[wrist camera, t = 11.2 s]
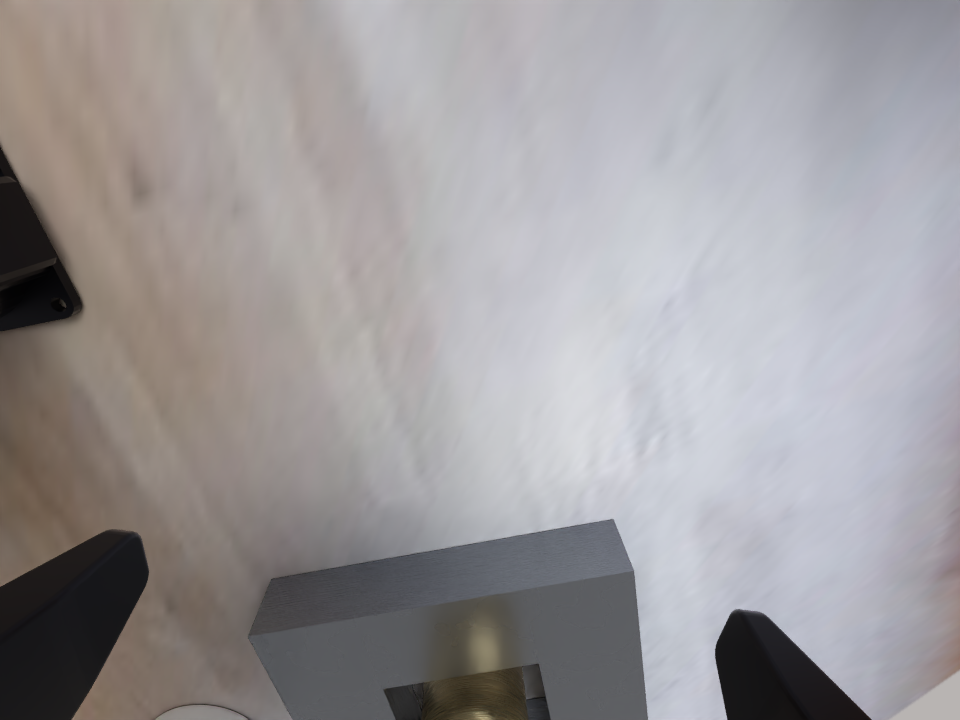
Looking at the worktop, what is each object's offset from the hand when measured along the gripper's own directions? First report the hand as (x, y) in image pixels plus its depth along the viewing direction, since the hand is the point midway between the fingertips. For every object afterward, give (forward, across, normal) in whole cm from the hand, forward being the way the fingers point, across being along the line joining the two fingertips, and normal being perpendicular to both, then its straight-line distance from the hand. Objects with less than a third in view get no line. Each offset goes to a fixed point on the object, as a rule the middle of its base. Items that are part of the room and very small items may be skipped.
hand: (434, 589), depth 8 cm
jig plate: (+12, -2, +19) cm, 23 cm away
